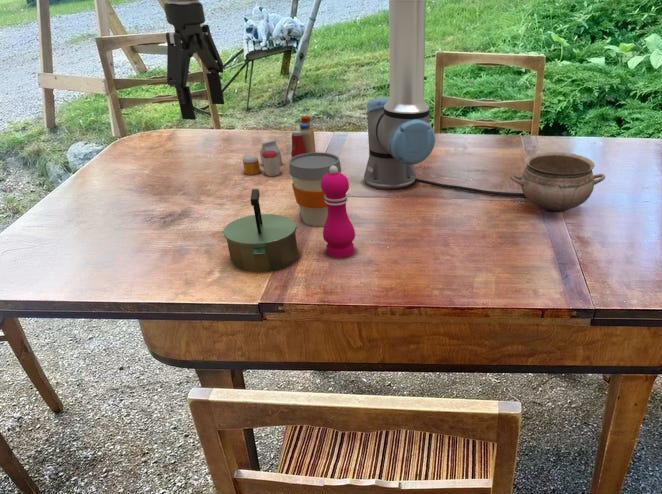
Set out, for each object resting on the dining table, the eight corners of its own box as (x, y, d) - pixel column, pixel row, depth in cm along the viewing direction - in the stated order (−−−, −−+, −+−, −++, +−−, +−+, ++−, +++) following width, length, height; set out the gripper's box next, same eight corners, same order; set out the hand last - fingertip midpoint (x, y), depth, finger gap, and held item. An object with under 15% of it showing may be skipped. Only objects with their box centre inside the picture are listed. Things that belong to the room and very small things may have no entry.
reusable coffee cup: (286, 224, 151) (277, 164, 142) (310, 206, 161) (304, 149, 152) (330, 232, 148) (325, 171, 139) (353, 213, 157) (349, 155, 149)
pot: (297, 236, 146) (294, 211, 142) (297, 275, 130) (294, 247, 126) (235, 240, 143) (230, 214, 140) (227, 280, 127) (221, 252, 124)
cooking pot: (513, 222, 154) (518, 175, 146) (502, 195, 169) (505, 151, 162) (609, 221, 155) (619, 174, 148) (589, 194, 170) (597, 150, 163)
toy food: (309, 151, 198) (305, 113, 191) (333, 160, 191) (330, 121, 184) (238, 170, 183) (230, 129, 176) (261, 181, 176) (254, 139, 169)
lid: (297, 217, 140) (292, 179, 135) (296, 245, 128) (291, 205, 123) (227, 221, 138) (220, 183, 133) (220, 250, 126) (212, 210, 120)
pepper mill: (331, 261, 135) (322, 173, 123) (320, 248, 140) (311, 163, 128) (361, 255, 138) (355, 168, 126) (349, 243, 143) (343, 158, 131)
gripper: (195, -5, 133) (214, 97, 146) (130, 7, 113) (159, 124, 126) (227, -4, 132) (243, 99, 145) (167, 9, 112) (192, 127, 125)
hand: (204, 111), depth 135 cm, fingers open, 13 cm apart
